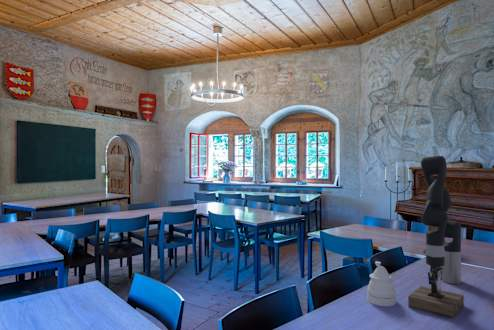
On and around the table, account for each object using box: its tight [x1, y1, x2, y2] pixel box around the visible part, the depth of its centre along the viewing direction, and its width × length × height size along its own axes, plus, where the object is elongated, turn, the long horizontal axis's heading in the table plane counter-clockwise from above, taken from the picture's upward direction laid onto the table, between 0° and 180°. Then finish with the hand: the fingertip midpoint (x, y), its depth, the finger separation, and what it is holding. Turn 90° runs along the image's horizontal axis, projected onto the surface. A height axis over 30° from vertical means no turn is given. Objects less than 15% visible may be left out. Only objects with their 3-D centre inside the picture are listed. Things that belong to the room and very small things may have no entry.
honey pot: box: [366, 261, 397, 307], centre depth 164 cm, size 13×13×18 cm
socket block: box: [407, 285, 465, 320], centre depth 156 cm, size 18×18×5 cm
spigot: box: [431, 276, 442, 299], centre depth 157 cm, size 4×4×11 cm
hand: (435, 291), depth 156 cm, fingers closed on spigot, 4 cm apart
